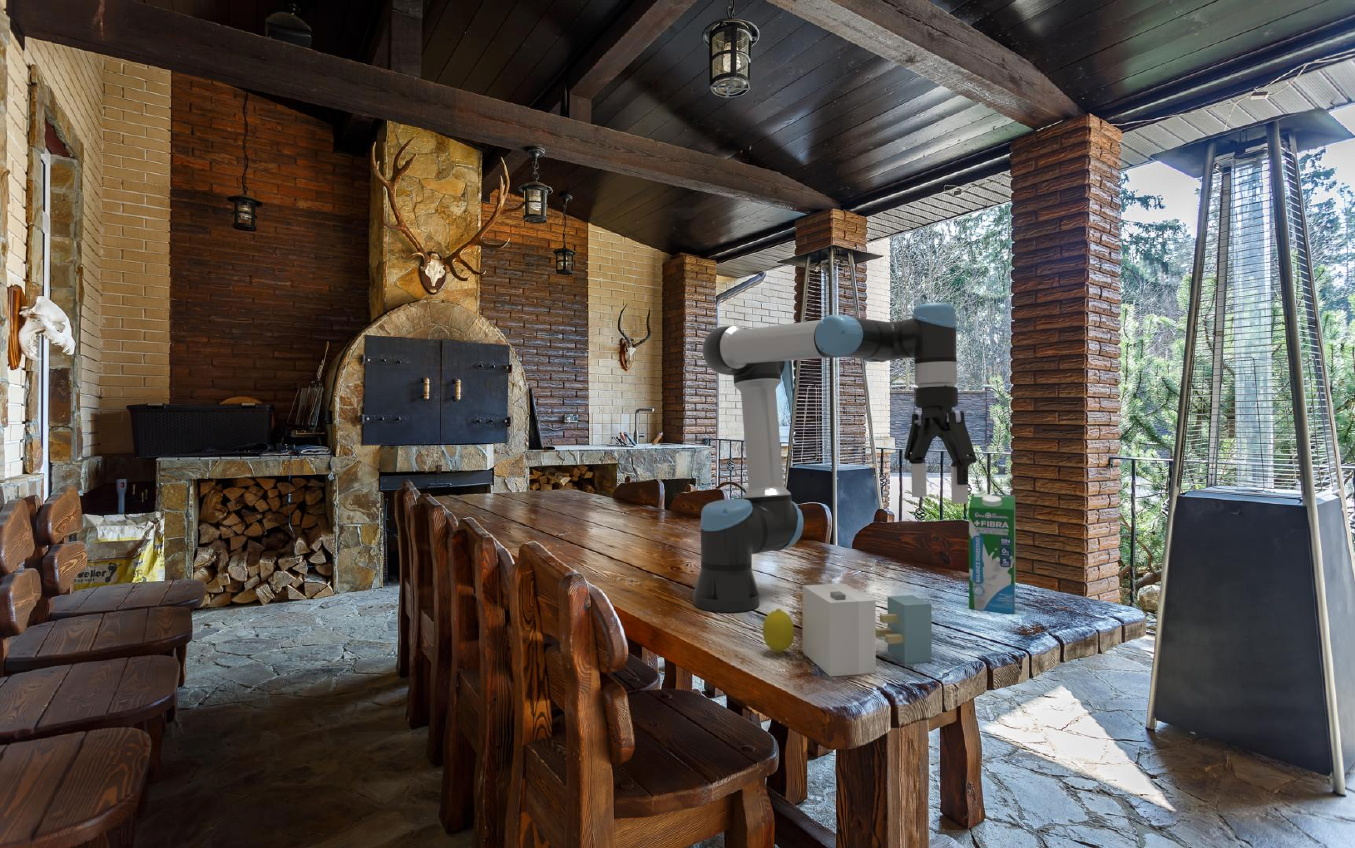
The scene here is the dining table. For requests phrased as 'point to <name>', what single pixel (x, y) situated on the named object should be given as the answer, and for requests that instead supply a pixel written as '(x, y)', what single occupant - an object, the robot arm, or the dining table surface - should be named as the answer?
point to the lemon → (778, 631)
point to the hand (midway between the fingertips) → (938, 500)
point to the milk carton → (992, 553)
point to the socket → (839, 629)
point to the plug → (908, 629)
